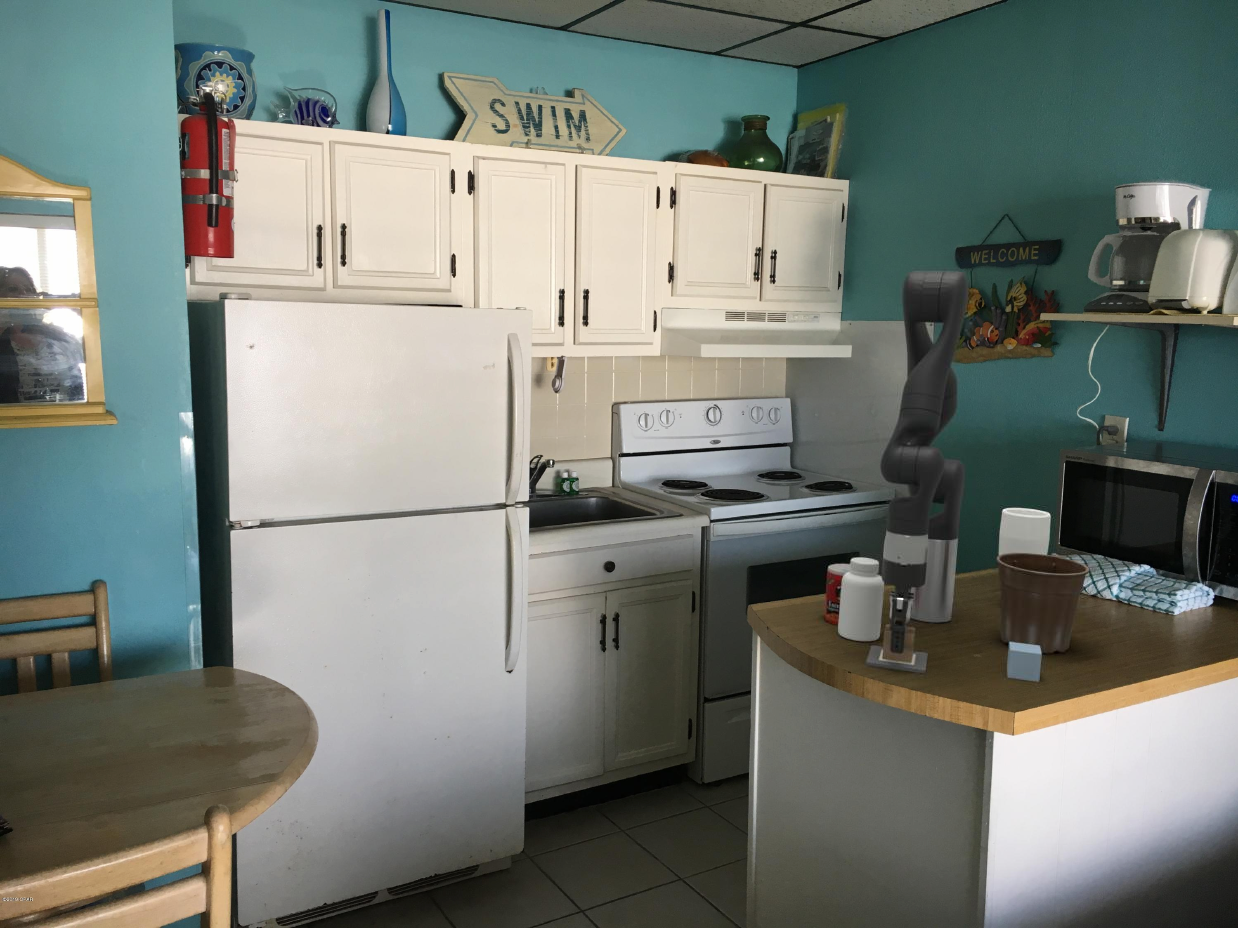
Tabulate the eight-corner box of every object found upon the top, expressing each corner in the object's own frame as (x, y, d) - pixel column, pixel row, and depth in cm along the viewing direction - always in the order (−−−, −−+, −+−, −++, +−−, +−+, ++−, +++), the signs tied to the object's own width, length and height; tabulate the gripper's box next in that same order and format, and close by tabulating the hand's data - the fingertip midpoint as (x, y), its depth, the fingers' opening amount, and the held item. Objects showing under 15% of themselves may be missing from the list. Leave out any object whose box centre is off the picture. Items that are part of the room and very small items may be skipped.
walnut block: (884, 650, 178) (886, 624, 178) (912, 654, 177) (915, 627, 176) (882, 658, 174) (884, 631, 173) (911, 662, 172) (913, 635, 171)
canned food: (821, 623, 196) (824, 570, 195) (828, 613, 204) (831, 561, 202) (859, 628, 194) (863, 574, 192) (865, 618, 201) (869, 566, 199)
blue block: (1006, 668, 173) (1009, 641, 172) (1037, 672, 171) (1039, 645, 171) (1007, 677, 168) (1010, 649, 168) (1039, 682, 167) (1041, 654, 166)
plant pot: (1087, 662, 178) (1096, 576, 175) (992, 651, 182) (1000, 567, 180) (1073, 637, 193) (1081, 557, 191) (986, 627, 198) (993, 549, 195)
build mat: (871, 648, 181) (871, 644, 181) (927, 656, 178) (927, 652, 178) (865, 665, 172) (866, 661, 172) (925, 673, 169) (925, 669, 169)
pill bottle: (881, 644, 184) (887, 566, 182) (838, 640, 186) (843, 563, 184) (878, 631, 192) (884, 557, 190) (837, 627, 194) (842, 554, 191)
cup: (1047, 608, 213) (1056, 511, 210) (1038, 619, 205) (1048, 518, 202) (997, 600, 219) (1005, 505, 216) (987, 610, 210) (995, 512, 207)
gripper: (886, 546, 180) (880, 631, 183) (879, 563, 167) (873, 654, 169) (929, 551, 178) (922, 637, 180) (925, 568, 165) (918, 660, 167)
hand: (898, 645), depth 175 cm, fingers open, 8 cm apart
